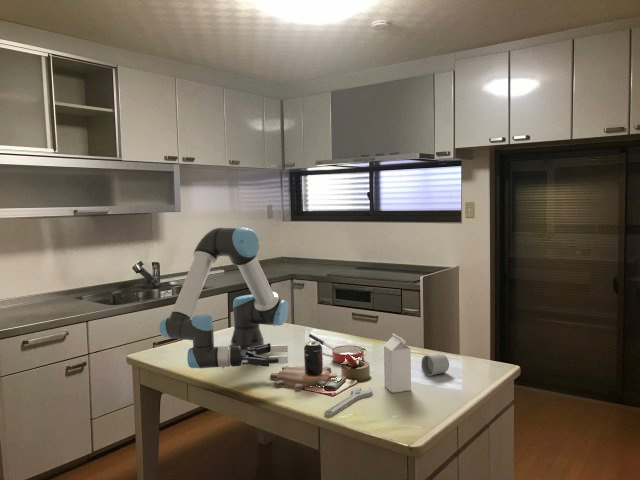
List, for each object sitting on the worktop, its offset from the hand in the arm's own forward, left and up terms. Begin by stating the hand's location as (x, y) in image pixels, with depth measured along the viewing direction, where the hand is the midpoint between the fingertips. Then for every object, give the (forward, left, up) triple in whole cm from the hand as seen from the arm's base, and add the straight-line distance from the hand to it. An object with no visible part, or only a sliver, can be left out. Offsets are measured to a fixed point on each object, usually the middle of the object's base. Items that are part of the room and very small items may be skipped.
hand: (287, 353), depth 197 cm
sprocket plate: (-2, +5, -10) cm, 11 cm away
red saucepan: (-31, +13, -10) cm, 35 cm away
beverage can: (-2, +9, -8) cm, 13 cm away
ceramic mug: (-10, +54, -10) cm, 56 cm away
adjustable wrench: (+20, +23, -11) cm, 33 cm away
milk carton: (+7, +40, -10) cm, 42 cm away
